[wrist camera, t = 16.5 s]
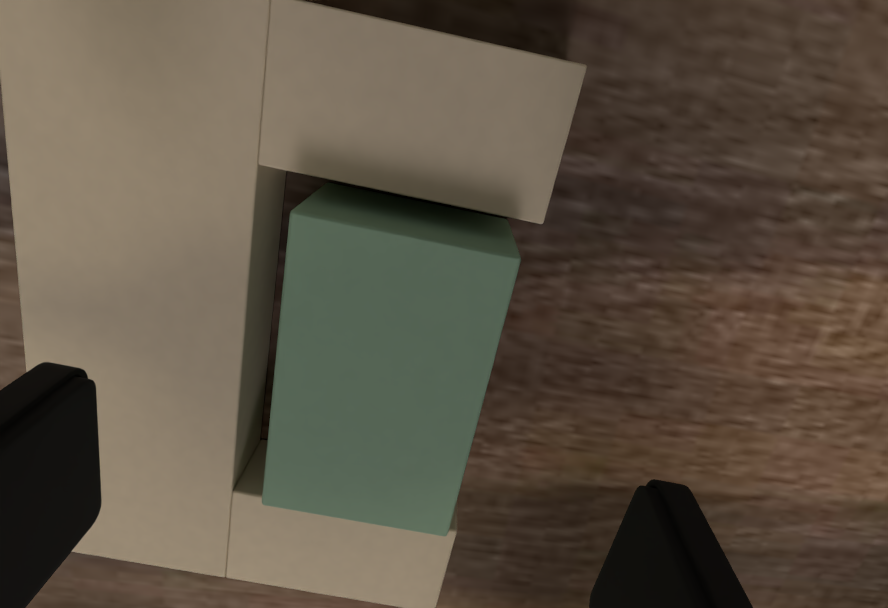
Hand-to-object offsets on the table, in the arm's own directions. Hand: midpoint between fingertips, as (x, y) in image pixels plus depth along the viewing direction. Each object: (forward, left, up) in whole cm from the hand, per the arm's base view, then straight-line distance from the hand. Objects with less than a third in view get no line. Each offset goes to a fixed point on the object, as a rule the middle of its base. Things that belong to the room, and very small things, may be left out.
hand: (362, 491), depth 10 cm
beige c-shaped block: (0, -3, -7) cm, 8 cm away
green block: (0, 0, -7) cm, 7 cm away
